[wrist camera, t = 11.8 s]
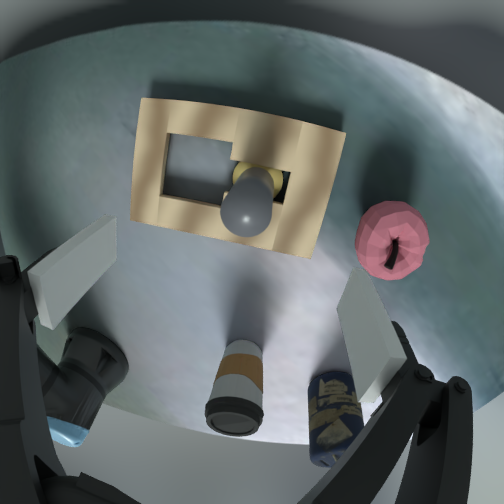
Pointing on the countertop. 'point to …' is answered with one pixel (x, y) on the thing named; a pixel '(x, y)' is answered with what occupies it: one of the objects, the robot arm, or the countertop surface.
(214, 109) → the keyhole board
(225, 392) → the coffee cup
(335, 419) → the canister
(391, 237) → the apple
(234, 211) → the peg
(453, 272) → the countertop surface
